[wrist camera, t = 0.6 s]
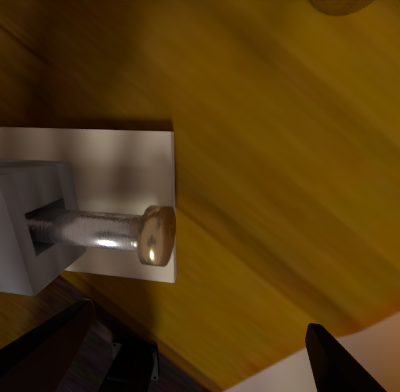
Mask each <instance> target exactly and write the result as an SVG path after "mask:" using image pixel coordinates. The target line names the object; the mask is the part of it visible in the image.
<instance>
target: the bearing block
mask: <svg viewBox="0 0 400 392" xmlns="http://www.w3.org/2000/svg"><path fill="white" fill-rule="evenodd" d="M150 205H159V206H171V207H173V209H174V211H175V174H174V132H169V131H132V130H95V129H59V128H22V127H0V292H8V293H15V294H22V295H29V296H35V295H36V294H38V293H39V292H40V291H41V290H42V289H43V288H45V287H46V286H47V285H48V284H49V283H50V282H51V281H53V280H54V279H55V278H56V277H57V276H58V275H60V274H61V273H62V272H63V271H64V270H69V271H77V272H86V273H94V274H102V275H111V276H119V277H128V278H136V279H144V280H153V281H161V282H170V283H174V282H175V279H176V233H175V241H174V247H173V251H172V255H171V258H170V260H169V263H168V264H167V266H165V267H158V266H149V265H143V264H141V263H140V261H139V258H138V254H137V252H131V251H121V250H112V249H102V248H92V247H82V246H73V245H63V244H53V243H43V242H34V241H32V240H31V236H30V233H29V229H28V226H27V222H26V218H25V215H24V214H25V213H28V212H30V211H33V210H35V209H37V208H40V207H46V208H58V209H71V210H83V211H96V212H109V213H121V214H134V215H143V214H144V212H145V210H146V209H147V208H148V207H149V206H150Z"/></svg>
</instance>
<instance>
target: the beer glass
mask: <svg viewBox="0 0 400 392" xmlns="http://www.w3.org/2000/svg"><path fill="white" fill-rule="evenodd" d="M309 1H310V2H311V4H312V5H313V6H314V7H315V8H317V9H318V10H319V11H321V12H323V13H325V14H329V15H334V16H342V15H348V14H351V13H354V12H357V11H359V10H361V9H363V8H365V7H366V6H368V5H369V4H371V3H372V2H373V1H375V0H309Z"/></svg>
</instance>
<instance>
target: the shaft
mask: <svg viewBox="0 0 400 392" xmlns="http://www.w3.org/2000/svg"><path fill="white" fill-rule="evenodd" d="M24 215H25V218H26V222H27V226H28V229H29V233H30V236H31V240H32V241H34V242H43V243H53V244H63V245H73V246H82V247H92V248H102V249H112V250H121V251H131V252H137V254H138V258H139V261H140V263H141V264H143V265H149V266H158V267H165V266H167V264H168V263H169V260H170V258H171V255H172V251H173V247H174V241H175V233H176V217H175V211H174V209H173V207H171V206H159V205H150V206H149V207H148V208H147V209H146V210H145V212H144V214H143V215H134V214H121V213H109V212H96V211H83V210H71V209H58V208H46V207H40V208H37V209H35V210H33V211H30V212H28V213H25V214H24Z"/></svg>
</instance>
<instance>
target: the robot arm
mask: <svg viewBox="0 0 400 392" xmlns="http://www.w3.org/2000/svg"><path fill="white" fill-rule="evenodd" d="M94 317H95V311H94V306H93V302H92V300H90V299H81V300H79V301H77V302H76V303H74V304H72V305H71V306H69V307H68V308H66V309H64V310H63V311H61V312H60V313H58V314H56V315H55V316H53V317H52V318H50V319H48V320H47V321H45V322H44V323H42V324H40V325H39V326H37V327H36V328H34V329H32V330H31V331H29V332H28V333H26V334H24V335H23V336H21V337H19V338H18V339H16V340H15V341H13V342H11V343H10V344H8V345H7V346H5V347H3V348H2V349H0V392H55V391H56V390H57V388H58V386H59V385H60V383H61V381H62V380H63V378H64V376H65V374H66V373H67V371H68V369H69V368H70V366H71V364H72V362H73V361H74V359H75V357H76V355H77V353H78V351H79V349H80V347H81V345H82V343H83V341H84V339H85V337H86V335H87V333H88V330H89V328H90V326H91V324H92V322H93V320H94ZM305 343H306V348H307V352H308V356H309V360H310V364H311V368H312V372H313V376H314V380H315V384H316V388H317V392H386V390H385V389H384V388H383V387H382V386H381V385H380V384H379V383H378V382H377V381H376V380H375V379H374V378H373V377H372V376H371V375H370V374H369V373H368V372H367V371H366V370H365V369H364V368H363V367H362V366H361V365H360V364H359V363H358V362H357V361H356V360H355V359H354V358H353V357H352V356H351V354H350V353H349V352H348V351H347V350H345V348H344V347H343V346H342V345H341V344H340V343H338V341H337V340H336V339H335V338H334V337H333V336H332V335H331V334H330V333H329V332H328V331H327V330H326V329H325V328H324V327H323V326H322V325H320V324H315V323H310V324H309V325H308V328H307V333H306V337H305ZM111 346H112V352H113V358H114V360H113V362H112V364H111V366H110V368H109V370H108V372H107V374H106V376H105V378H104V380H103V382H102V384H101V386H100V388H99V390H98V392H147V391H148V387H149V384H150V381H151V380H158V378H159V363H158V349H157V347H156V346H153V345H147V344H140V343H134V342H128V341H121V340H113V341H112V343H111Z"/></svg>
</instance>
